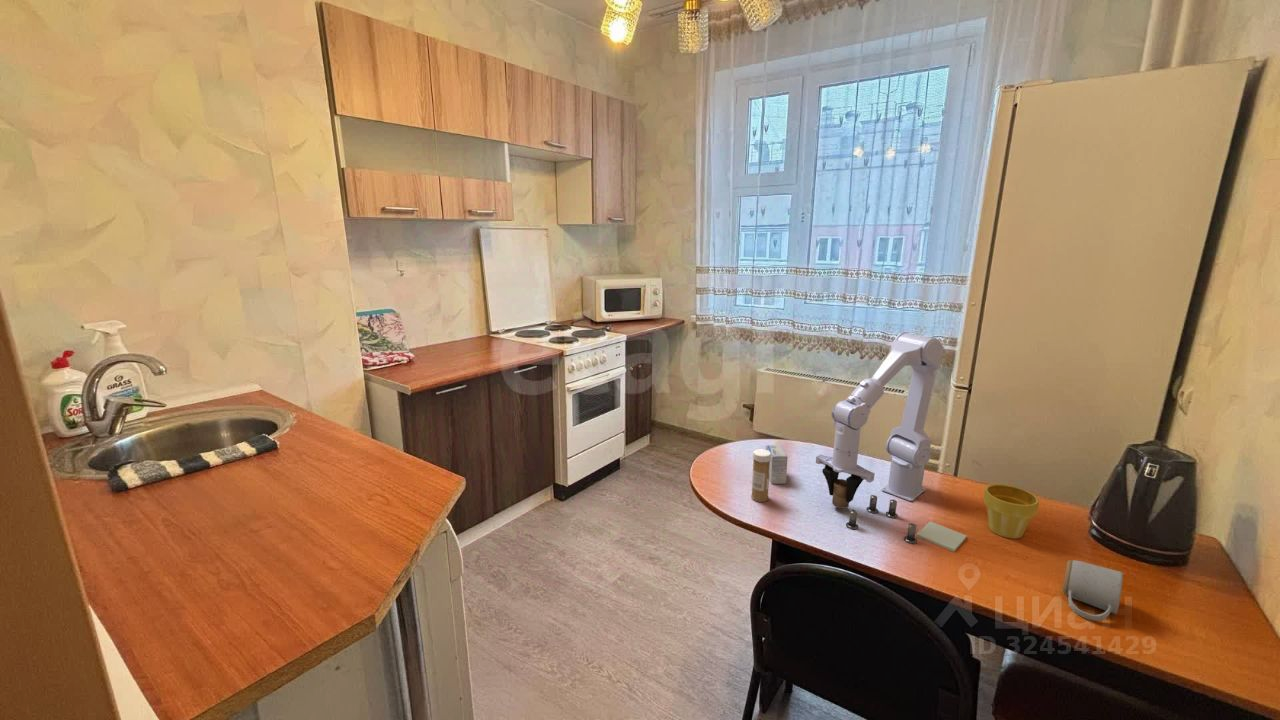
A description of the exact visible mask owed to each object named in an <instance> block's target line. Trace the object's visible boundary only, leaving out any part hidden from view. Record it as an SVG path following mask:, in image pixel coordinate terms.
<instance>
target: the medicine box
mask: <svg viewBox="0 0 1280 720" xmlns="http://www.w3.org/2000/svg"><path fill="white" fill-rule="evenodd" d="M765 450H767V451H769V452H770V453H771V460H770V468H769V483H770V484H771V485H774V484H775V485H776V484H777V485H784V484H785V485H786V484H787V474H788V455H787V453H786V452H785V450H784V448H783V447H782V445H781V444H768V445H766V447H765Z"/></svg>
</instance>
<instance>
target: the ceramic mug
mask: <svg viewBox="0 0 1280 720" xmlns="http://www.w3.org/2000/svg"><path fill="white" fill-rule="evenodd" d="M1064 574H1065V575H1064V580H1063V585H1062V592H1063V594H1064V595H1066V596H1068V597H1067V601H1068V605H1069V606H1070V609H1071V610H1072V611H1073V612H1074V613H1075V614H1077V615H1078V616H1080V617H1082V618H1084V619H1086V620H1089V621H1093V622H1098V621H1099V622H1100V621H1104V620H1106V619H1107V618H1108V617H1109V615H1110V614H1113V615H1114V614H1118V611H1119V606H1120V604H1121V603H1120V601H1121V596H1122V590H1123V581H1124V573H1123V572H1122V571H1119V570H1115V569H1111V568H1107V567H1104V566H1101V565H1096V564H1092V563H1088V562H1084V561H1081V560H1074V559H1070V560H1068V561H1067V563H1066V568H1065V573H1064ZM1073 600H1077V601H1079V602H1083V603H1085V604H1087V605H1090V606H1093V607H1095V608H1098V609H1100V610H1103V611H1104V612H1102V613H1100V614H1090V613H1088V612H1085V611H1084V610H1081V609H1080V608H1079V607H1078V606H1076V605H1075V603H1074V601H1073Z"/></svg>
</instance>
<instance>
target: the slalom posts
mask: <svg viewBox="0 0 1280 720" xmlns="http://www.w3.org/2000/svg"><path fill="white" fill-rule="evenodd" d="M877 504H878V496H877V495H875V494H871V495H870V498H869V506H868V507H866V512H868V513H869V514H872V515H873V514H874V515H875V514H879V509H878V508H877ZM888 505H889V507H888V511H886V512H885V516H886V517H888V518H890V519H894V520H895V519H898V518H899V514H898V513H896V512H897V505H898V501H897V500H896V499H890V500H889V504H888ZM857 516H858V511H857V510H854V509H851V510H849V518H848V519H849V520H848V522H846V524H845V526H846V528H848V529H849V530H853V531H854V530H855V531H856V530H859V525H858V524H857V518H858V517H857ZM916 532H917V524H915V523H914V522H913V523H912V522H910V523H908V528H907V533H906V535H904V536H903V541H905V542H906V543H907V544H911V545H916V544H918V539H917V538H916V534H917V533H916Z"/></svg>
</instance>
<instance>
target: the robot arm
mask: <svg viewBox="0 0 1280 720" xmlns="http://www.w3.org/2000/svg"><path fill="white" fill-rule="evenodd" d="M944 349H945V348H944V345H943V344H942V342H941V341H940V340H939V339H938V338H936V337H929V336H923V335H918V334H914V333H909V332H907V331H901V332H900V333H898V335H896V336H895V338H894V340H893V341H891V343H890V352H889V354H888V355H887V356H886V358H885V359H884V360H883V362H882V363H881V364H880V366H879V367H878V368H877V370H876V371H875V373H874V374H873V376H871V377H870V378H863V380H862V381H861V382H860V383H859V384H858V385H857V386H856V387H855V388H854V390H853V391H852V392H851V393H850V395H848V396H847V397H846V399H845V400H844V399H843V400H840V401H838V402H836V404H835V405H834V407H833V409H832V410H831V412H830V414H831V418H832V420H833V427H834V428H835V431H834V432H835V433H834V443H833V450H832V451H833V452H832V456H828V455H825V454H818V455H816V456H815V464H818V465H824V467H823V468H822V469H821V470H822V471H821V472H822V474H823V475H824V477H825V480H826V483H827V487H828V492H829V496H833V488H834V480H836V479H839V475H840V473H845V474H848V475H850V476H848V477H846V479H845V480H846V481H847V497H846V502H849V503H851V502H852V501H853V500H854V498H855V494H856V492H857V491H858V488H859V487H860V485H861V484H862V482H863V481H864V480H865V482H867V483H869V484H870V483H872V482H873V481H875V472H872V471H870V470H868V469H866V468H864V467H863V466H861V465H859V464H858V456H859V447H860V439H861V438H860V437H861V430H862V429H861V428H863V427H864V425H866V424H867V422H868V418H869V415H870V414H871V410H872V408H873V407H874V406H875V404H876V403H877V402H878V401H879V400H880V399H881V398H882V397H883V395H884V394H885V390H884V389H885V388H884V386H886V384H888V383H889V382H890V381H891V380H892V379H893V378H894V377H895V376H896V375H897V374H898V373H899V372H900V371H901V370H902V369H904V367H906V366H908V367H909V366H910V367H911V368H912V374H911V379H910V383H909V388H908V391H907V398H906V402H905V404H904V405H905V406H904V409H903V410H904V411H903V415H902V419H901V424H900V425H899V426H897V427H894V428H892V429H891V432H890V435H889V437H888V439H887V440H886V443H885V450H886V453H888V454H889V459H891V461H890V462H891V463H890V468H889V469H890V470H889V477H888V484H886V485H885V486H883V488H882V489H881V491H883V492H885V493H887V494H890V495H893V496H895V497H898V498H900V499H904V500H906V501H909V502H913V501H914V500H915V499H917V497H919V496H920V495H921V494H922V493H924V492H925V491H926V488H925V487H923V483H924V482H923V481H924V475H925V466H926V465H927V464H928V463H929V461H930V459H931V456H932V449H931V444H932V439H931V438H930V437H929V435H928V434H927V432H926V431H925V425H926V420H927V416H928V411H929V408H930V407H929V406H930V403H931V398H932V394H933V391H934V390H933V389H934V385H935V381H936V377H937V371H938V370H939V369H940V366H941V360H942V356H943V352H944Z"/></svg>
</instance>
